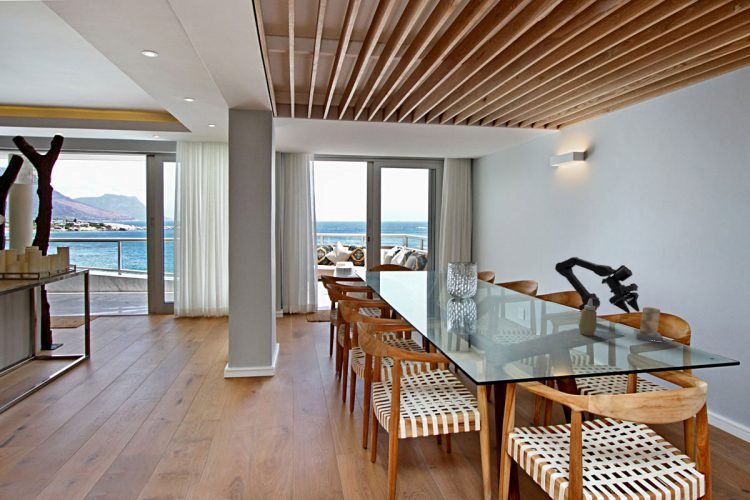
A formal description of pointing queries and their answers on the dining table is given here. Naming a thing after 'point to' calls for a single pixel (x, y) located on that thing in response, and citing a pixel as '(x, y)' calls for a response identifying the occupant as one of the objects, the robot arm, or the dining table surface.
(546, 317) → the dining table surface
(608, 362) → the dining table surface
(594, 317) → the squeeze bottle
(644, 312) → the oak block
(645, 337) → the slate base
